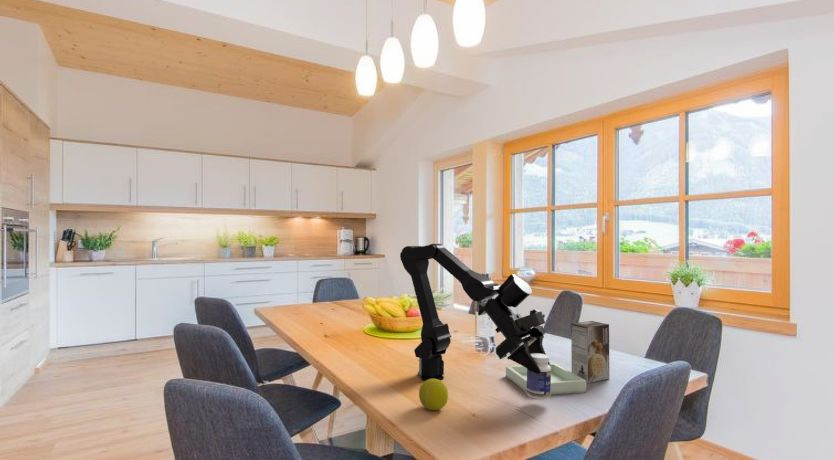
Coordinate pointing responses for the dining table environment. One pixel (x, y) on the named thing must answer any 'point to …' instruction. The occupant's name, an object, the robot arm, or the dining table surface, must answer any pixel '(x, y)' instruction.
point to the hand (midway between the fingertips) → (544, 370)
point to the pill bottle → (539, 378)
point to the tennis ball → (433, 394)
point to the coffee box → (590, 350)
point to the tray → (560, 379)
